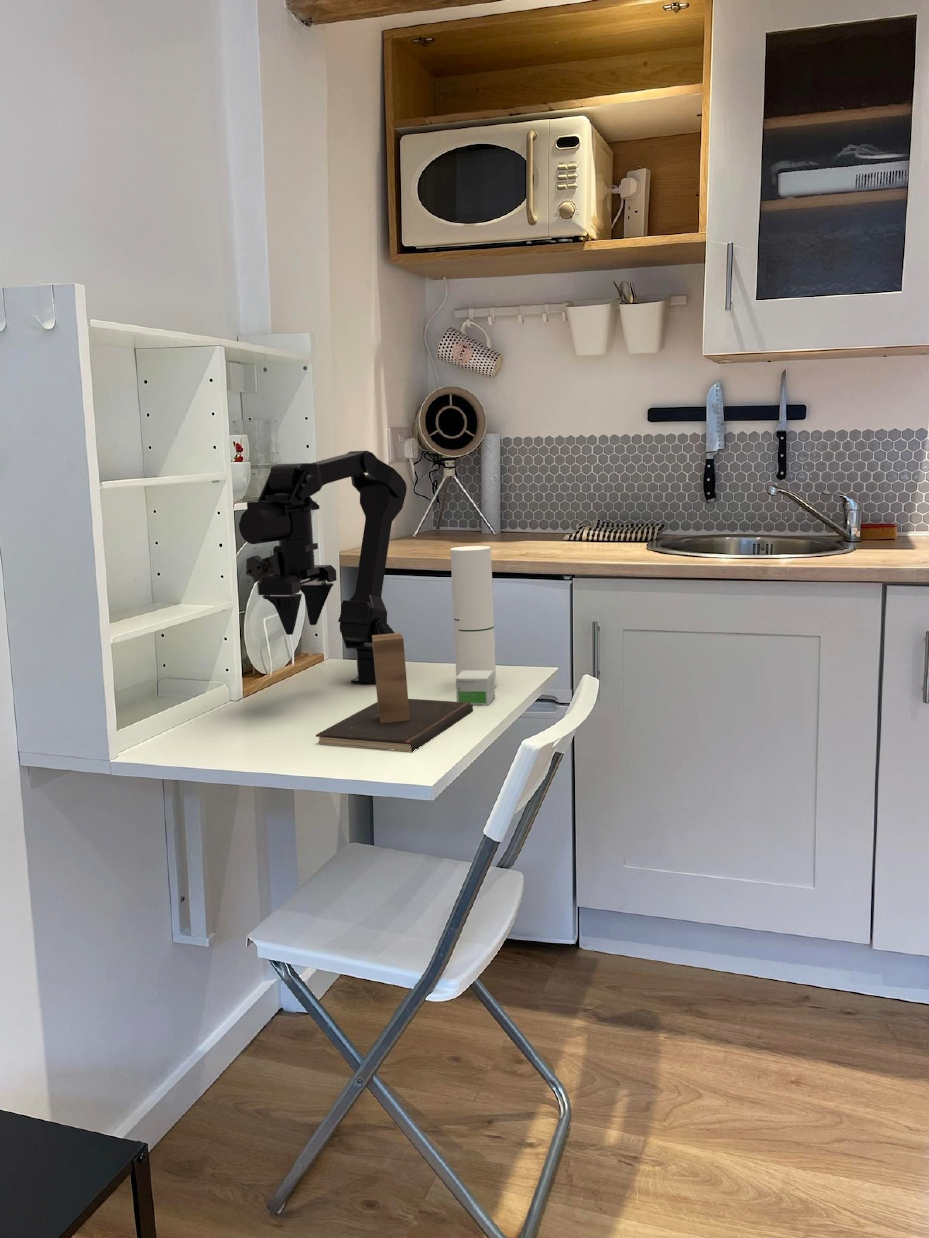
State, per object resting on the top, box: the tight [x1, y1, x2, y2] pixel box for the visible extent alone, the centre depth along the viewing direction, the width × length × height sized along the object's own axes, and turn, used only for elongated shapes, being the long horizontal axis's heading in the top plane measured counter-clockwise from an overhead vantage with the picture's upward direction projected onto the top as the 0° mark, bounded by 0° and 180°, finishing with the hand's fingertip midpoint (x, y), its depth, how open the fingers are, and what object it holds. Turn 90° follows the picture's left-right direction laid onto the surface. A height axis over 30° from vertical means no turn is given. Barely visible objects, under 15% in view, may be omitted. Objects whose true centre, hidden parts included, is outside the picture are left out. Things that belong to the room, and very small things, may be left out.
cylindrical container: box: [449, 545, 497, 687], centre depth 183 cm, size 7×7×25 cm
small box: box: [455, 670, 496, 706], centre depth 174 cm, size 6×6×5 cm
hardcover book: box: [315, 698, 474, 753], centre depth 161 cm, size 16×23×2 cm
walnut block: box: [372, 632, 410, 723], centre depth 159 cm, size 4×4×13 cm
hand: (301, 629), depth 176 cm, fingers open, 9 cm apart
